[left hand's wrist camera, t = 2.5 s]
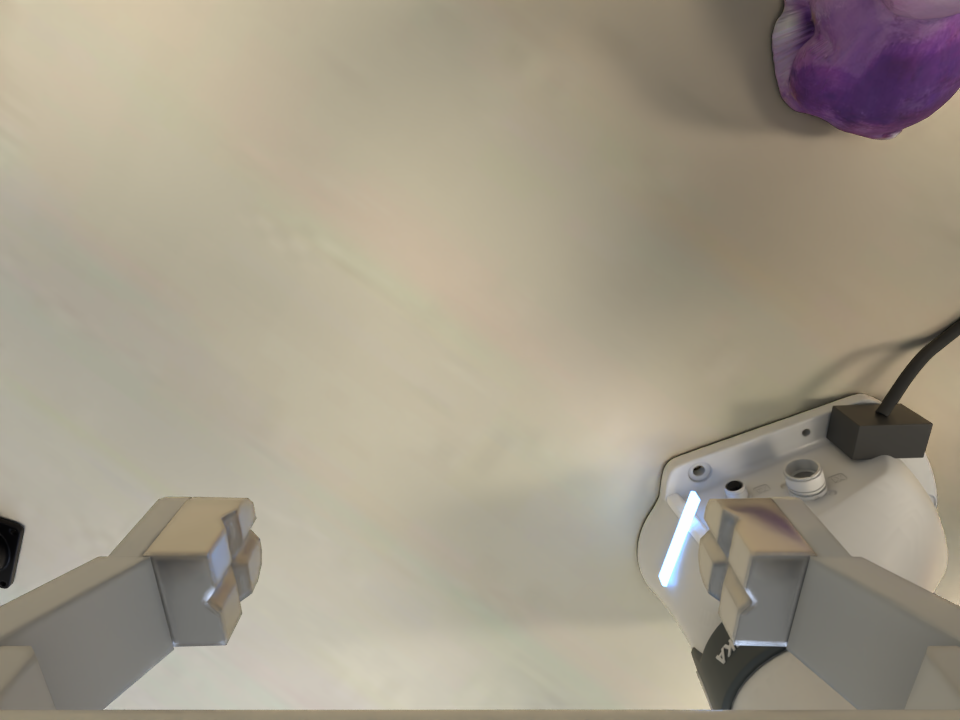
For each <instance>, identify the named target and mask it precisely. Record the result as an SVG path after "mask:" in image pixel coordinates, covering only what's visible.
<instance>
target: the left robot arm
mask: <svg viewBox="0 0 960 720" xmlns="http://www.w3.org/2000/svg"><path fill="white" fill-rule="evenodd" d="M959 335H960V319H959V320H958V321H957V322H955V323H954V324H953V325H952V326H950V327H949V328H948V329H946V330H945V331H944V332H943V333H941V334H940V335H939V336H938V337H936V338H935V339H934V340H933V341H931V342H930V343H929V344H927V345H926V346H925V347H924V348H923V349H922V350H920V351H919V352H918V354H917V355H916V356H915V357H914V358H913V359H912V360H911V362H910V363H909V364H908V365H907V366H906V368H905V369H904V370H903V372H902V373H901V374H900V376H899V377H898V379H897V380H896V382H895V383H894V385H893V386H892V388H891V389H890V391H889V392H888V394H887V395H886V397H885V398H884V400H883V401H882V402H881V401H880V400H878V399H876V398H874V397H871V396H869V395H866V394H856V395H852V396H849V397H846V398H843V399H840V400H837V401H834V402H831V403H828V404H825V405H823V406H820V407H817V408H814V409H811V410H808V411H806V412H803V413H800V414H797V415H794V416H791V417H788V418H786V419H783V420H780V421H777V422H774V423H771V424H769V425H766V426H763V427H760V428H757V429H754V430H751V431H749V432H746V433H743V434H740V435H737V436H734V437H732V438H729V439H726V440H723V441H720V442H717V443H714V444H712V445H709V446H706V447H703V448H700V449H697V450H695V451H692V452H689V453H686V454H683V455H680V456H678V457H675V458H673V459H672V460H670V461H669V462H668V463H667V464H666V466H665V468H664V471H663V474H662V479H661V487H660V496H659V498H658V500H657V502H656V504H655V506H654V508H653V509H652V511H651V512H650V514H649V516H648V517H647V519H646V521H645V523H644V525H643V528H642V530H641V533H640V537H639V541H638V550H637V556H638V564H639V568H640V571H641V574H642V576H643V579H644V580H645V582H646V584H647V585H648V587H649V588H650V589H651V590H652V592H653V593H654V594H655V595H656V596H657V597H658V598H659V599H660V600H661V601H662V603H663V604H664V605H665V607H666V608H667V609H668V611H669V612H670V614H671V615H672V617H673V618H674V620H675V621H676V623H677V624H678V626H679V628H680V629H681V631H682V633H683V634H684V636H685V638H686V639H687V641H688V643H689V645H690V647H691V649H692V652H691V653H692V657H693V660H694V663H695V665H696V668H697V672H696V673H697V676H698V678H699V681H700V683H701V686H702V689H703V691H704V693H705V696H706V698H707V701H708V703H709V705H710V708H711V710H103V709H104V708H105V707H106V706H108V705H109V704H110V703H111V702H112V701H114V700H115V699H116V698H117V697H118V696H119V695H121V694H122V693H123V692H124V691H125V690H127V689H128V688H129V687H130V686H131V685H132V684H134V683H135V682H136V681H137V680H138V679H140V678H141V677H142V676H143V675H144V674H145V673H147V672H148V671H149V670H150V669H151V668H153V667H154V666H155V665H156V664H157V663H158V662H160V661H161V660H162V659H163V658H164V657H166V656H167V655H168V654H169V653H170V652H171V651H173V650H174V647H179V646H213V645H227V643H228V641H229V639H230V637H231V635H232V633H233V631H234V629H235V627H236V625H237V623H238V621H239V619H240V617H241V615H242V610H241V604H240V602H241V601H242V600H243V599H245V598H246V597H248V596H249V595H250V594H252V592H253V590H254V588H255V586H256V584H257V582H258V578H259V574H260V569H261V565H262V549H261V542H260V538H259V537H258V536H257V535H256V534H255V533H254V532H253V531H252V530H251V527H252V525H253V523H254V522H255V520H256V514H255V509H254V504H253V502H252V501H251V500H250V499H249V498H222V497H193V498H192V497H164V498H161V499H159V500H158V501H157V502H156V503H155V504H154V505H153V506H152V507H151V508H150V510H149V511H148V512H147V513H146V514H145V515H144V516H143V517H142V519H141V520H140V521H139V522H138V523H137V524H136V525H135V527H134V528H133V529H132V530H131V531H130V532H129V533H128V534H127V536H126V537H125V538H124V539H123V540H122V541H121V542H120V544H119V545H118V546H117V547H116V548H115V549H114V550H113V551H112V553H111V554H110V555H109V556H108V557H97V558H95V559H93V560H91V561H89V562H87V563H85V564H83V565H81V566H79V567H77V568H75V569H73V570H71V571H69V572H67V573H65V574H63V575H61V576H60V577H58V578H56V579H54V580H52V581H50V582H48V583H46V584H44V585H42V586H40V587H38V588H36V589H34V590H32V591H30V592H28V593H26V594H24V595H22V596H20V597H18V598H16V599H14V600H12V601H10V602H8V603H6V604H4V605H2V606H0V720H960V607H959V606H957V605H955V604H954V603H952V602H950V601H948V600H946V599H944V598H942V597H940V596H938V595H936V594H934V592H935V590H936V588H937V586H938V584H939V583H940V581H941V579H942V578H943V576H944V574H945V571H946V569H947V563H948V549H947V543H946V538H945V534H944V530H943V527H942V523H941V521H940V518H939V516H938V513H937V511H936V510H937V488H936V483H935V478H934V474H933V471H932V468H931V465H930V462H929V460H928V458H927V455H926V453H925V450H926V447H927V443H928V440H929V436H930V433H931V429H932V425H933V424H932V423H931V422H929V421H928V420H926V419H924V418H923V417H921V416H920V415H918V414H917V413H915V412H913V411H912V410H910V409H909V408H907V407H906V406H904V405H902V404H897V403H898V401H899V400H900V398H901V397H902V395H903V394H904V392H905V391H906V389H907V388H908V386H909V385H910V383H911V382H912V381H913V379H914V378H915V377H916V375H917V374H918V373H919V371H920V370H921V369H922V368H923V367H924V365H925V364H926V363H927V362H928V361H929V360H930V359H931V358H932V357H933V356H934V355H935V354H936V353H938V352H939V351H940V350H941V349H943V348H944V347H945V346H946V345H948V344H949V343H950V342H951V341H953V340H954V339H955V338H956V337H958V336H959ZM696 466H701V468H700V469H698V470H695V471H694V468H695V467H696Z"/></svg>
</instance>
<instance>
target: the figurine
mask: <svg viewBox="0 0 960 720" xmlns="http://www.w3.org/2000/svg"><path fill="white" fill-rule="evenodd" d="M784 5H785V6H784V10H783V12H782V14H781V16H780V17H779V18H778V19H777V21H776V23H775V26H774V30H773V33H772V39H773V40H772V52H773V54H774V57H773V61H774V66H775V75H776V78H777V82H778V87H779V88H780V89H779V91H780V94H781V97H782V99H783V100H784V101H785V102H786V103H787V105H788V106H789V107H791V108H792V109H793V110H795V111H797V112H802V113H807V114H810V115H813V116H817V117H819V118H821V119H823V120H825V121H827V122H829V123H830V124H831V125H833V126H834V127H836V128H838V129H840V130H842V131H844V132H848V133H853V134H856V135H860V136H864V137H867V138H871V139H878V140H886V139H892V138H894V137H896V136H897V135H898V134H899V133H900V132H901V131H902V129H904V128H906V127H909V126H911V125H913V124H915V123H918V122H920V121H922V120H924V119H925V118H927V117H929V116H930V115H931V114H933V113H934V112H935V111H937V110H938V109H939V108H940V107H941V106H943V105H944V104H945V103H946V102H947V101H948V100H949V99H950V98H951V97H952V96H953V95H954V94H955V93H956V91H957V90H958V89H959V88H960V0H784Z"/></svg>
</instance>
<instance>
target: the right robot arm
mask: <svg viewBox="0 0 960 720" xmlns="http://www.w3.org/2000/svg"><path fill="white" fill-rule="evenodd" d="M15 530H16V531H15ZM23 533H24V529H23V527H22V526H21V525H19V524H17V523H14V522H11V521H8V520H5V519H2V518H0V588H4V589H5V588H8V587H9V586H10V585H11V584H12V583H13V581H14V576H15V571H16V566H17V561H18V557H19V552H20V547H21V542H22V537H23Z"/></svg>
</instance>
